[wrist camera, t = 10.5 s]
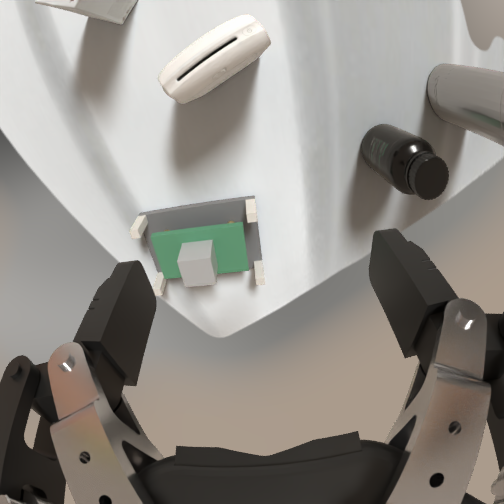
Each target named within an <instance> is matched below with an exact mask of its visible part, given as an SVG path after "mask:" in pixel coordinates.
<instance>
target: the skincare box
mask: <svg viewBox="0 0 504 504" xmlns="http://www.w3.org/2000/svg"><path fill="white" fill-rule="evenodd" d="M136 2H137V0H36V2H35V3H37V4H42V5H46V6H51V7H55V8H59V9H63V10H67V11H71V12H74V13H78V14H81V15H85V16H88V17H92V18H96V19H100V20H104V21H108V22H113V23H116V24H120V25H122V24H123V23H124V21H125V19H126V18H127V16H128V14H129V13H130V11H131V9H132V8H133V6H134V5H135V3H136Z"/></svg>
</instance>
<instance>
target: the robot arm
mask: <svg viewBox="0 0 504 504" xmlns="http://www.w3.org/2000/svg"><path fill="white" fill-rule="evenodd" d="M428 97H429V101H430V104H431V106H432V108H433V110H434V111H435V113H436V114H437V115H438V116H439V117H440V118H441V119H443V120H444V121H447V122H449V123H452V124H454V125H457V126H460V127H462V128H464V129H467V130H469V131H472V132H474V133H476V134H479V135H481V136H483V137H485V138H487V139H490V140H492V141H494V142H496V143H498V144H500V145H502V146H504V72H500V71H495V70H489V69H483V68H477V67H470V66H463V65H455V64H441V65H438V66H437V67H435V68H434V70H433V71H432V72H431V74H430V76H429V80H428ZM369 277H370V281H371V284H372V287H373V289H374V291H375V293H376V295H377V297H378V299H379V301H380V303H381V305H382V307H383V309H384V312H385V313H386V316H387V318H388V320H389V322H390V325H391V327H392V329H393V331H394V334H395V336H396V338H397V341H398V343H399V345H400V348H401V350H402V352H403V355H404V357H405V358H408V357H411V356H415V355H417V356H418V359H419V363H418V365H417V367H416V370H415V373H414V376H413V379H412V382H411V385H410V388H409V391H408V394H407V396H406V399H405V402H404V404H403V407H402V410H401V412H400V414H399V416H398V418H397V420H396V422H395V423H394V425H393V427H392V429H391V431H390V432H389V434H388V436H387V439H386V441H385V443H382V442H377V441H371V440H360V438H359V434H358V431H356V432H352V433H348V434H343V435H338V436H333V437H328V438H322V439H316V440H312V441H310V442H307V443H304V444H302V445H299V446H296V447H294V448H291V449H288V450H285V451H282V452H279V453H276V454H273V455H270V456H259V455H253V454H248V453H242V452H237V451H233V450H228V449H224V448H219V447H185V446H176V455H174V456H170V457H167V458H164V457H163V455H162V454H161V453H160V452H159V451H158V449H157V448H156V447H155V446H154V445H153V444H152V443H151V442H150V440H149V439H148V438H147V436H146V434H145V433H144V431H143V429H142V427H141V426H140V424H139V422H138V420H137V418H136V416H135V415H134V413H133V411H132V409H131V407H130V405H129V403H128V401H127V399H126V397H125V395H124V394H123V393H122V390H123V386H124V385H128V386H136V385H137V381H138V376H139V372H140V368H141V364H142V360H143V356H144V352H145V348H146V344H147V340H148V336H149V333H150V329H151V325H152V322H153V318H154V315H155V311H156V296H155V293H154V291H153V289H152V286H151V284H150V282H149V280H148V277H147V275H146V273H145V270H144V268H143V266H142V264H141V262H140V261H138V260H136V261H128V262H121V263H118V264H117V265H116V267H115V269H114V271H113V273H112V275H111V276H110V278H108V279H107V280H106V281H105V282H104V283H103V284H102V285H101V286H100V287H99V288H98V290H97V292H96V294H95V296H94V298H93V301H92V302H91V304H90V306H89V310H87V312H86V314H85V316H84V318H83V320H82V323H81V325H80V327H79V329H78V331H77V333H76V336H75V338H74V340H73V342H69V343H65V344H63V345H61V346H60V347H58V348H57V349H56V350H55V351H54V352H53V354H52V355H51V357H50V359H49V362H46V363H42V364H39V365H34V364H33V363H32V362H31V361H30V360H29V359H28V358H27V357H26V356H23V355H22V356H18V357H16V358H14V359H13V360H12V361H11V362H10V363H9V364H8V366H7V367H6V370H5V372H4V374H3V377H2V380H1V382H0V504H64V496H65V486H66V482H67V484H68V487H69V489H70V491H71V494H72V496H73V498H74V501H75V503H76V504H485V503H484V502H482V501H480V500H478V499H477V498H475V497H473V496H471V495H469V494H468V493H466V489H467V486H468V484H469V481H470V478H471V476H472V472H473V470H474V466H475V463H476V460H477V457H478V453H479V449H480V446H481V442H482V437H483V433H484V429H485V425H486V420H487V422H488V426H489V429H490V433H491V436H492V439H493V443H494V447H495V452H496V456H497V460H498V465H499V469H500V473H499V475H498V478H497V479H496V480H495V481H494V482H493V484H492V486H491V492H492V494H494V495H496V497H495V501H494V503H493V504H504V312H503V314H485V313H484V311H483V310H482V309H481V307H480V306H478V305H477V304H476V303H474V302H473V301H471V300H468V299H464V298H458V297H457V295H456V294H455V292H454V291H453V289H452V288H451V286H450V285H449V284H448V283H447V281H446V279H445V278H444V277H443V276H442V274H441V273H440V271H439V270H438V269H436V266H435V265H434V263H433V262H432V261H430V258H429V257H428V255H427V254H426V253H425V252H424V250H423V249H422V248H420V247H419V246H417V245H416V244H414V243H413V242H411V241H409V242H407V241H406V239H405V238H404V237H403V236H402V234H401V233H400V232H399V231H398V230H397V229H387V230H378V231H375V232H374V235H373V242H372V250H371V258H370V265H369ZM30 409H33V410H34V411H35V412H36V413H38V414H39V415H40V416H41V417H40V421H39V425H38V429H37V433H36V438H35V442H34V447H33V449H31V448H29V447H28V446H27V445H26V443H25V440H24V432H25V428H26V424H27V420H28V416H29V413H30Z"/></svg>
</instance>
